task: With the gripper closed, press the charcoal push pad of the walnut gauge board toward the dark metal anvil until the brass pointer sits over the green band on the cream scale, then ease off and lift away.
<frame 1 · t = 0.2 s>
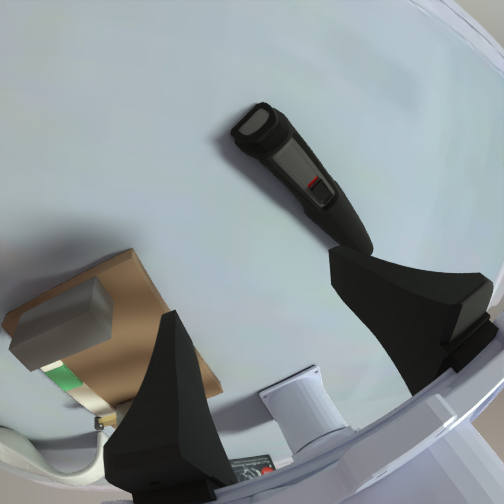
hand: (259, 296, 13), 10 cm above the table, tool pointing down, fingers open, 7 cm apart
push pad: (134, 417, 24), point 4 cm above the table, slide at 0.0 cm
small box: (231, 464, 44), on the table
electric trimmer: (307, 182, 23), on the table
spoon rest: (39, 436, 27), on the table
gauge board: (117, 357, 24), on the table
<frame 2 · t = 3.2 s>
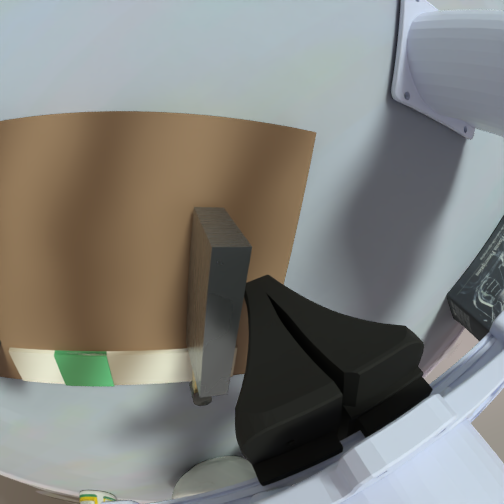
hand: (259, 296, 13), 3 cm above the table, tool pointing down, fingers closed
push pad: (207, 338, 12), point 4 cm above the table, slide at 0.2 cm, touching gripper
supplement bottle: (96, 493, 25), on the table
small box: (480, 264, 26), on the table
spoon rest: (235, 443, 26), on the table
gauge board: (98, 264, 13), on the table
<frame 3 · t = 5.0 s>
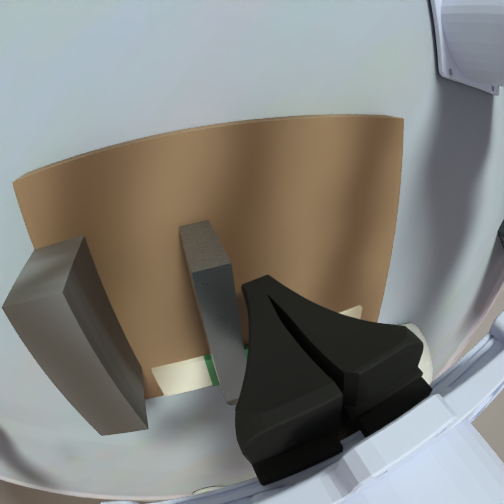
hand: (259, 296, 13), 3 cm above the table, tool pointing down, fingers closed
push pad: (222, 345, 13), point 4 cm above the table, slide at 7.0 cm, touching gripper
supplement bottle: (209, 489, 32), on the table
spoon rest: (343, 402, 29), on the table
gauge board: (239, 263, 15), on the table
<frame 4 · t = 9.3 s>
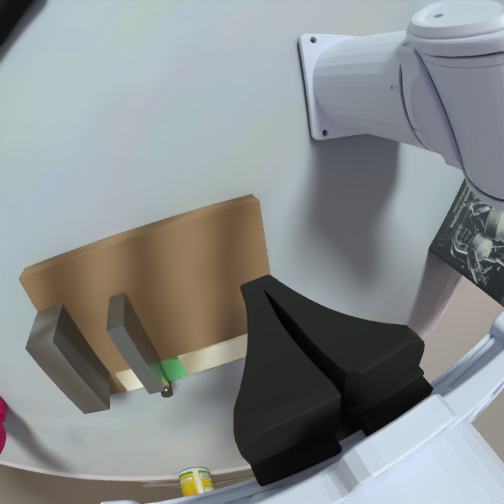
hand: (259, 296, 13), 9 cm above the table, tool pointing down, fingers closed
push pad: (145, 361, 20), point 4 cm above the table, slide at 7.1 cm
supplement bottle: (192, 471, 40), on the table
small box: (459, 212, 31), on the table
gauge board: (158, 308, 23), on the table
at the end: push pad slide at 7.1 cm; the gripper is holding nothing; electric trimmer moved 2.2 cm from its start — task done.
